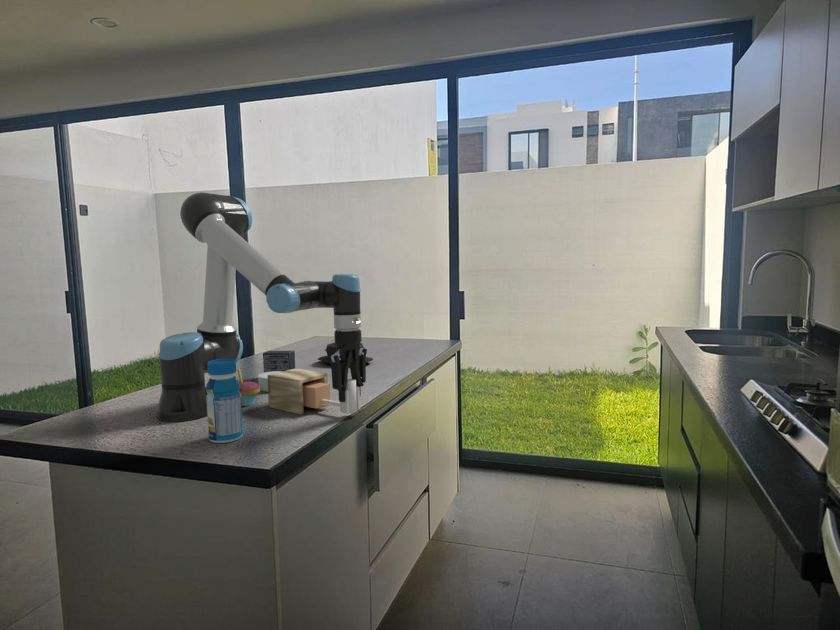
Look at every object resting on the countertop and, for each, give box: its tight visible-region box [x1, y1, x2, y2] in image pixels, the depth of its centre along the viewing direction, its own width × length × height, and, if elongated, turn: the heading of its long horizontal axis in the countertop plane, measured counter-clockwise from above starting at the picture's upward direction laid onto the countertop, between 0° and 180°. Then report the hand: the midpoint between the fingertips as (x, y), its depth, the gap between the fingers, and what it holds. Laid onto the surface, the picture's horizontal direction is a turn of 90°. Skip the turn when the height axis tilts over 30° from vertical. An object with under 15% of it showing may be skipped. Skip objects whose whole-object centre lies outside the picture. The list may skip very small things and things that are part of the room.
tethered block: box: [303, 378, 358, 414], centre depth 159 cm, size 6×18×9 cm, turn 55°
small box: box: [262, 350, 296, 373], centre depth 206 cm, size 11×6×10 cm, turn 84°
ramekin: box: [257, 371, 283, 393], centre depth 190 cm, size 11×11×5 cm
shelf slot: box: [267, 367, 329, 415], centre depth 167 cm, size 11×14×10 cm
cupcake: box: [237, 367, 261, 407], centre depth 171 cm, size 9×8×12 cm
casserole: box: [317, 342, 374, 364], centre depth 234 cm, size 25×19×8 cm
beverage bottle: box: [205, 359, 244, 444], centre depth 138 cm, size 8×8×20 cm
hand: (350, 410), depth 156 cm, fingers closed on tethered block, 4 cm apart
